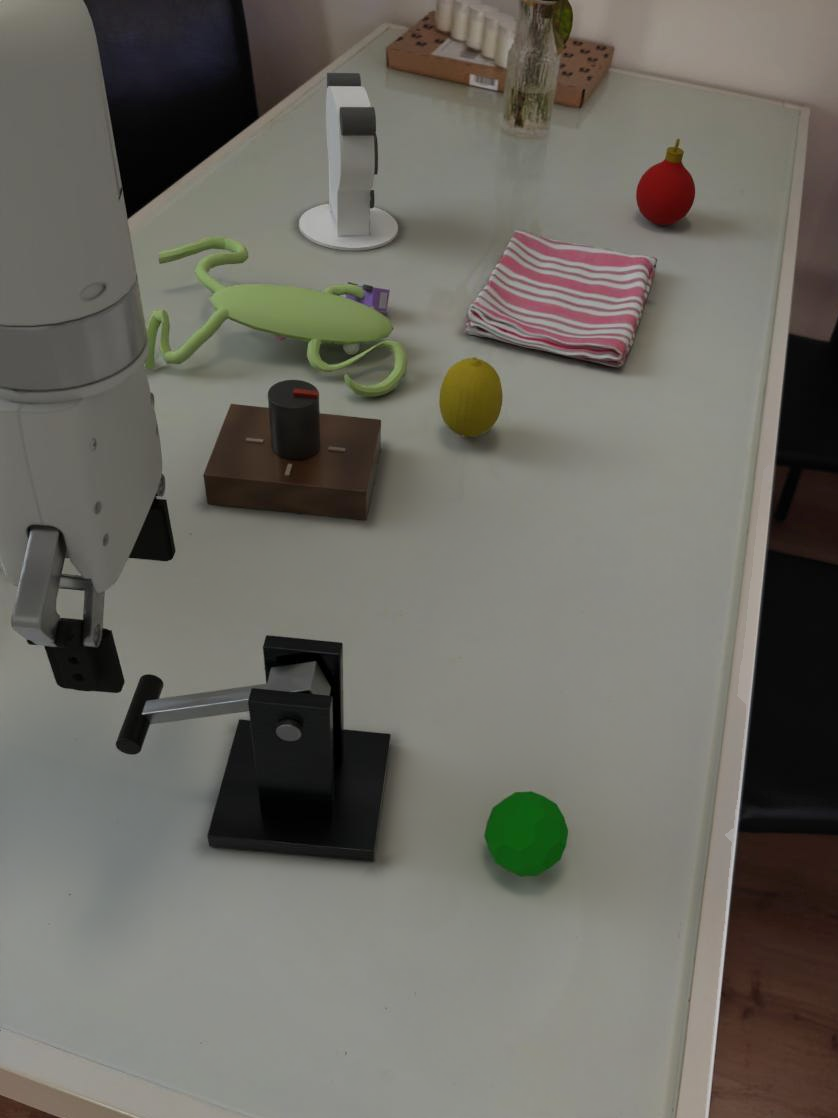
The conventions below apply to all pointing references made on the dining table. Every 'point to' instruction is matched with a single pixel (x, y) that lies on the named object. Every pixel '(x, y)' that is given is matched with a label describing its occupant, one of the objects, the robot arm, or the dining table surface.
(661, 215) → the christmas ornament
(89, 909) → the dining table surface
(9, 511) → the robot arm
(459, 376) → the lemon
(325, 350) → the dining table surface
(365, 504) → the panel
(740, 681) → the dining table surface
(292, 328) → the figurine
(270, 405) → the valve knob
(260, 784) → the black lever base
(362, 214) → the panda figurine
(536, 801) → the polyhedron
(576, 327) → the dish towel
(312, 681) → the tap lever
